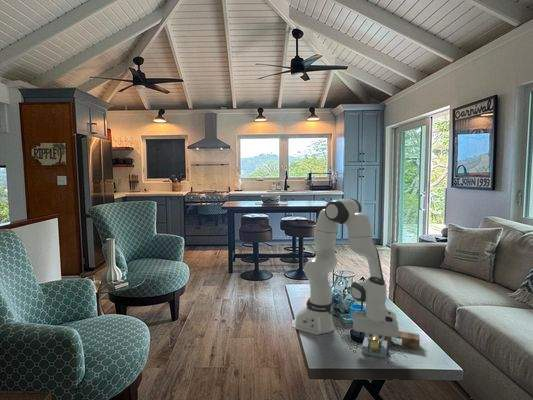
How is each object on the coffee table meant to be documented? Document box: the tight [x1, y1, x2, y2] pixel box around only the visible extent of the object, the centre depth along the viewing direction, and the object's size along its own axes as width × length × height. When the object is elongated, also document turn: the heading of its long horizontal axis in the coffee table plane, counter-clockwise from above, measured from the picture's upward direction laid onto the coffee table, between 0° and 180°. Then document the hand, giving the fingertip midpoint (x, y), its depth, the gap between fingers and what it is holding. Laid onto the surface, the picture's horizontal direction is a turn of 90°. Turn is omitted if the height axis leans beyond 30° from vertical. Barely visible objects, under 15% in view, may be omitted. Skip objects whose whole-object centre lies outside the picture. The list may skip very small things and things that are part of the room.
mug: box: [349, 303, 366, 320], centre depth 191 cm, size 12×8×8 cm
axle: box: [370, 334, 380, 352], centre depth 160 cm, size 4×14×4 cm, turn 158°
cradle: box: [361, 336, 388, 359], centre depth 159 cm, size 10×9×4 cm
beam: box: [380, 330, 421, 351], centre depth 166 cm, size 20×6×5 cm, turn 67°
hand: (375, 342), depth 158 cm, fingers closed on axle, 3 cm apart
